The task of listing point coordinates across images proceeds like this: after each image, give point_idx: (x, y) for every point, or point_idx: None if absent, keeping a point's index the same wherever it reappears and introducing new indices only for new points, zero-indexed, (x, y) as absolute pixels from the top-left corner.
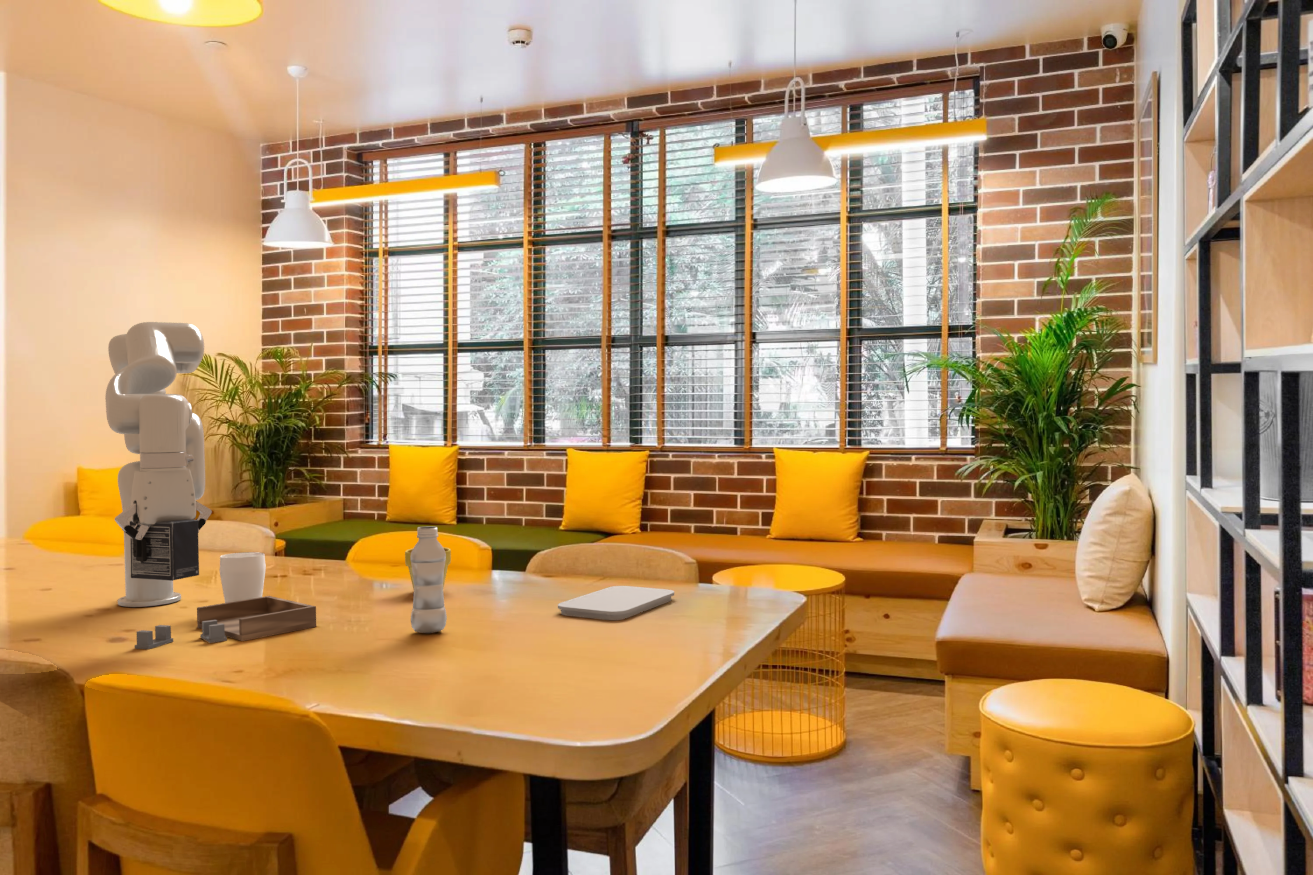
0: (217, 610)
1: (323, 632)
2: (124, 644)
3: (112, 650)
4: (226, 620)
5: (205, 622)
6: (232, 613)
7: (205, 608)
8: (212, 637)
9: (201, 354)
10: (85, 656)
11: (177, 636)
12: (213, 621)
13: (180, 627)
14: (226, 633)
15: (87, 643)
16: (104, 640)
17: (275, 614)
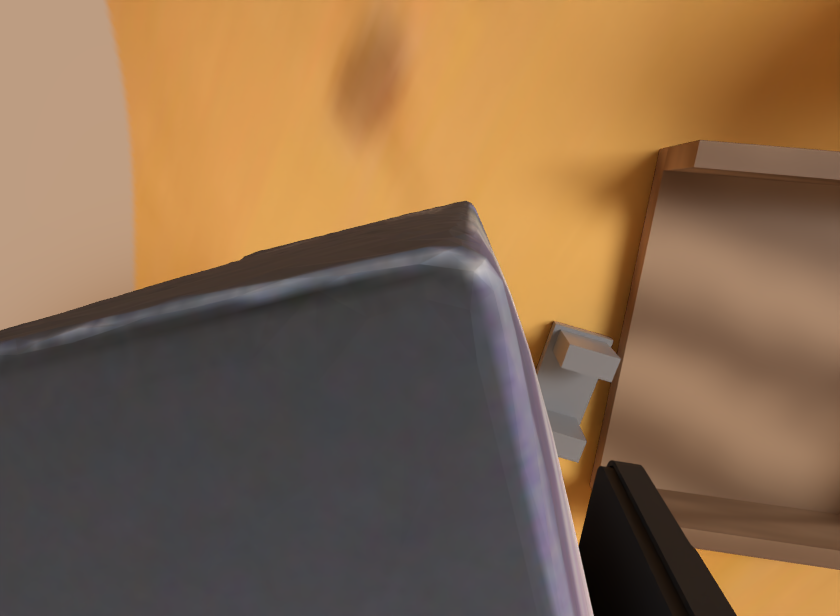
0: (773, 176)
1: (806, 604)
2: (348, 187)
3: (285, 241)
4: (758, 217)
5: (567, 368)
6: (832, 184)
7: (723, 169)
8: None
9: None
10: (201, 247)
11: (521, 230)
12: (596, 377)
13: (631, 73)
14: (612, 390)
15: (275, 43)
16: (334, 46)
17: (751, 553)
